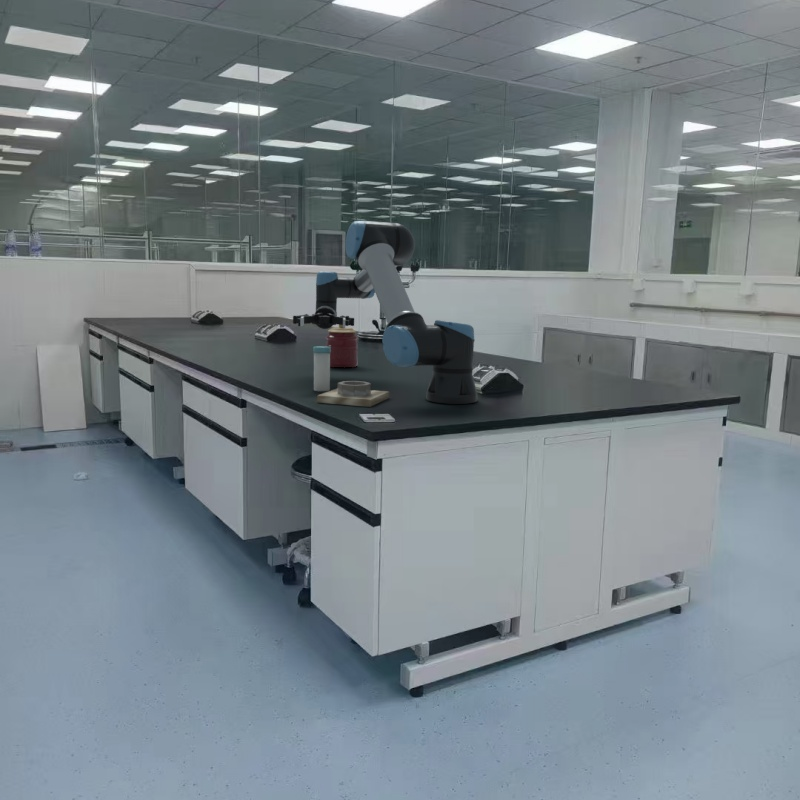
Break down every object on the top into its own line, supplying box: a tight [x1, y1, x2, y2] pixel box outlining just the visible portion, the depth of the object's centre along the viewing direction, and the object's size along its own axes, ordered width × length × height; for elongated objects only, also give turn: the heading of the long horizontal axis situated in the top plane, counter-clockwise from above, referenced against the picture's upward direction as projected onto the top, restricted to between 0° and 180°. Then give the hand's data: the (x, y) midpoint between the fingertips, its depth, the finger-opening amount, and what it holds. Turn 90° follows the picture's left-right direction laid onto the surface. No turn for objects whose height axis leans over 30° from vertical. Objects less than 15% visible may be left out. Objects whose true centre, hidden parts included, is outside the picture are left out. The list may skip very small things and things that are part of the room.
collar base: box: [316, 380, 390, 408], centre depth 206 cm, size 16×16×5 cm
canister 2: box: [325, 324, 359, 369], centre depth 283 cm, size 13×13×18 cm
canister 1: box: [312, 345, 331, 392], centre depth 222 cm, size 5×5×14 cm
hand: (322, 323), depth 228 cm, fingers open, 13 cm apart
